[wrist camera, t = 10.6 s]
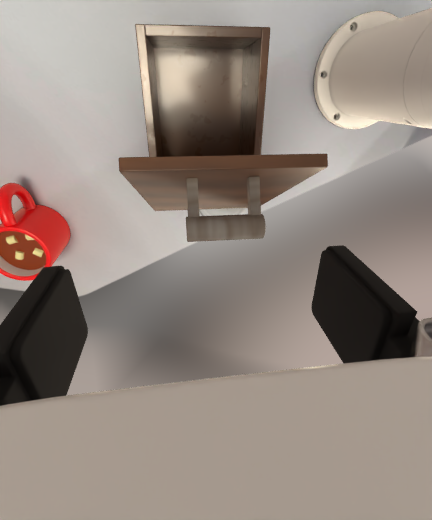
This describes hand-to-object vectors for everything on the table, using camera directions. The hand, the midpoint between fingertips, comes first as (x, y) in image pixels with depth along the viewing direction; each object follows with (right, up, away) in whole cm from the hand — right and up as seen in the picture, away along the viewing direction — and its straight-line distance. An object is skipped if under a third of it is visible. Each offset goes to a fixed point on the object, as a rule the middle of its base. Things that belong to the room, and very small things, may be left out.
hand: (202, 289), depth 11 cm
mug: (-26, +7, +32) cm, 42 cm away
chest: (-2, +20, +28) cm, 34 cm away
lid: (0, +7, +14) cm, 16 cm away
